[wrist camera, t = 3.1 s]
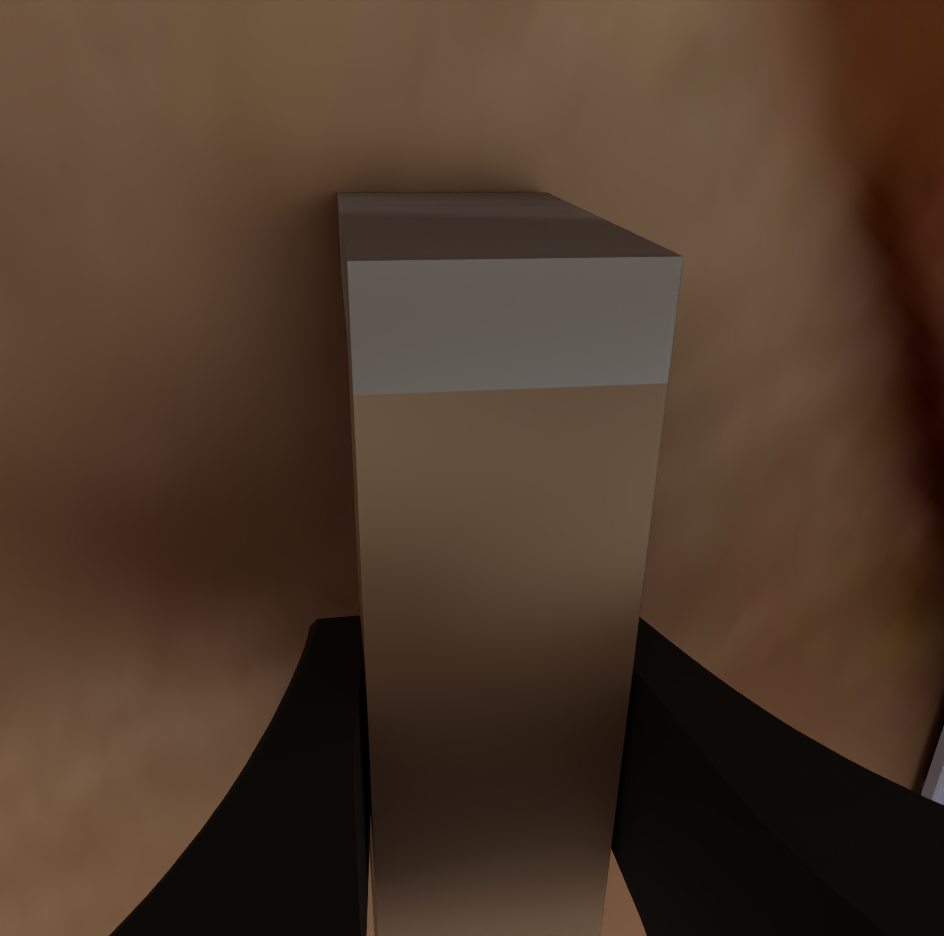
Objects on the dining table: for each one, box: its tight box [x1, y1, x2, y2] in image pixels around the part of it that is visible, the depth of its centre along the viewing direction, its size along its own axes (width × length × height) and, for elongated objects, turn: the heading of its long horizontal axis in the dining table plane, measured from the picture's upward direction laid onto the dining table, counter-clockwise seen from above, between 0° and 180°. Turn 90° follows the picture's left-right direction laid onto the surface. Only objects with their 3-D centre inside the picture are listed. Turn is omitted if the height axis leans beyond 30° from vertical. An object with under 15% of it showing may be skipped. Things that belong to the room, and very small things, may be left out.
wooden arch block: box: [337, 193, 683, 936], centre depth 12 cm, size 12×3×5 cm, turn 179°
